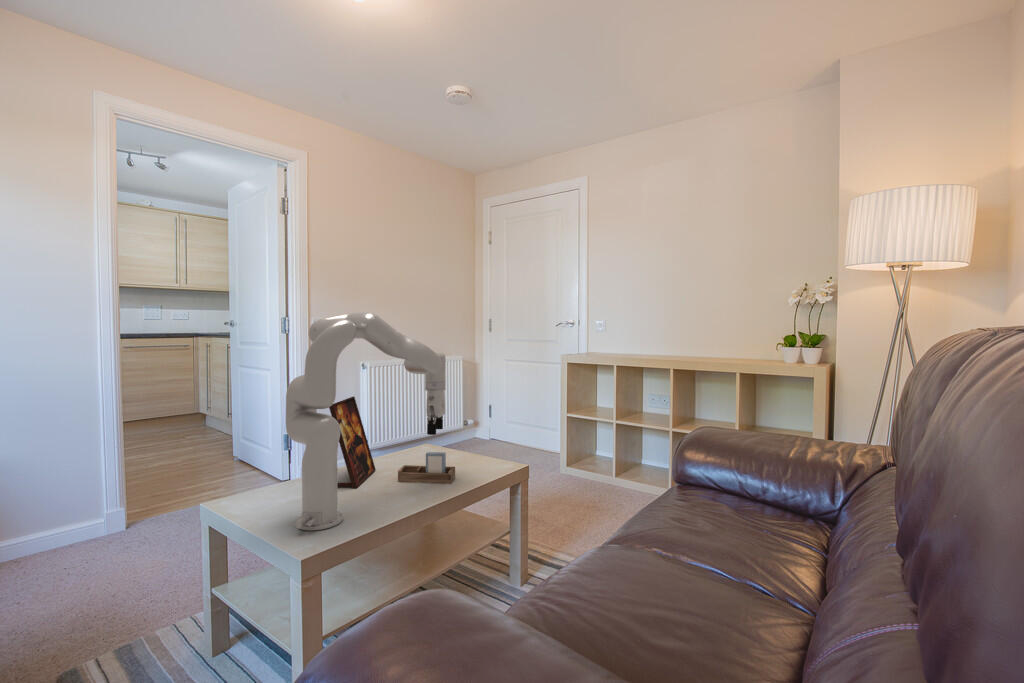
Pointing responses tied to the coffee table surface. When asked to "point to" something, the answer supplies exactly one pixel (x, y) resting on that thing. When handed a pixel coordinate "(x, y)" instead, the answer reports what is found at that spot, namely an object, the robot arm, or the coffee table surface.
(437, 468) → the blue frame tile
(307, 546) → the coffee table surface
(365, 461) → the picture frame
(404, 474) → the wooden tray box
